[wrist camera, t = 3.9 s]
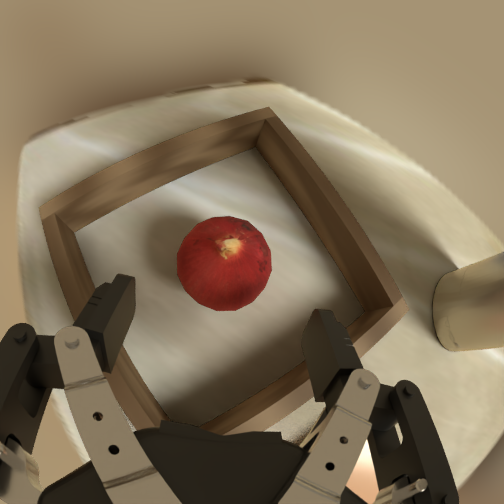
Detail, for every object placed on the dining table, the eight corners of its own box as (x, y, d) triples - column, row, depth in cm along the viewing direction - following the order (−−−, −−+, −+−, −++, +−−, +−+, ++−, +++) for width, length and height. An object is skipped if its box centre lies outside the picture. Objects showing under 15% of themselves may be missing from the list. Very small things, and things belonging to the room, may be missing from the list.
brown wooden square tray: (259, 134, 25) (268, 106, 22) (380, 315, 22) (409, 309, 18) (59, 227, 19) (38, 207, 15) (178, 453, 16) (175, 477, 12)
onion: (217, 225, 22) (229, 168, 14) (272, 273, 21) (313, 238, 14) (165, 277, 20) (146, 242, 12) (223, 330, 19) (239, 328, 12)
